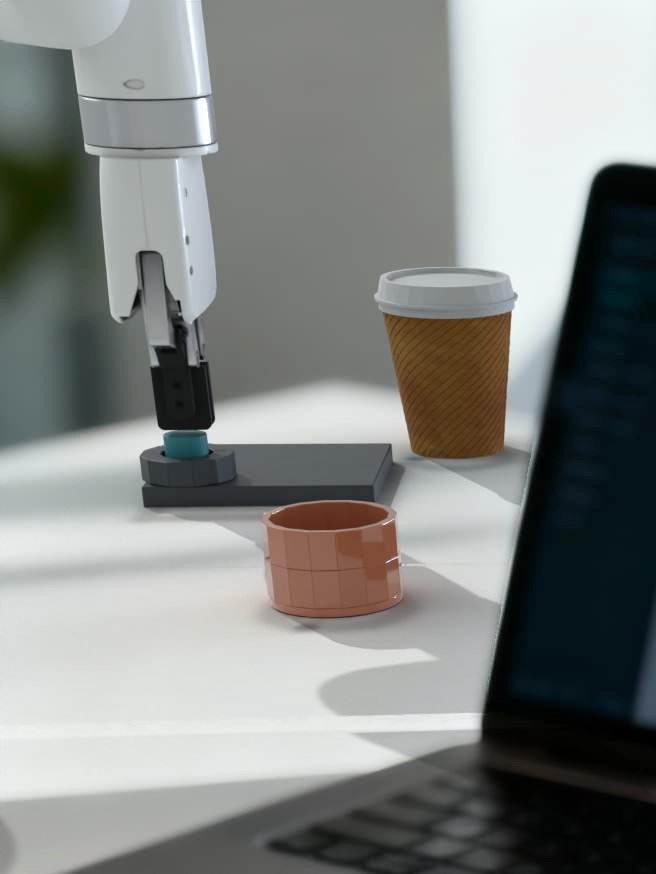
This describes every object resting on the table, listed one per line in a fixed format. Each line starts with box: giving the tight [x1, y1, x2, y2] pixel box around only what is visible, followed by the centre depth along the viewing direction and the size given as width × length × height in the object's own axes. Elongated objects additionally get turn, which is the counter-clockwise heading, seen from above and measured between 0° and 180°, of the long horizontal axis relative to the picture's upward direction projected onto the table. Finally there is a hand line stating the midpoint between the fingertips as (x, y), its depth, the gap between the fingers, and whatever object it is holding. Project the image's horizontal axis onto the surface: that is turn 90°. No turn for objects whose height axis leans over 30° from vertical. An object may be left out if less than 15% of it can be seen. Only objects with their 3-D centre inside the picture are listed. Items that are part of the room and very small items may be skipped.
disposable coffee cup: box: [373, 266, 519, 460], centre depth 165 cm, size 10×10×12 cm
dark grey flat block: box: [138, 442, 394, 508], centre depth 156 cm, size 14×12×3 cm
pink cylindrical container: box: [259, 500, 404, 618], centre depth 132 cm, size 7×7×5 cm
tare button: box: [162, 430, 209, 458], centre depth 151 cm, size 3×3×2 cm
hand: (187, 426), depth 151 cm, fingers closed
